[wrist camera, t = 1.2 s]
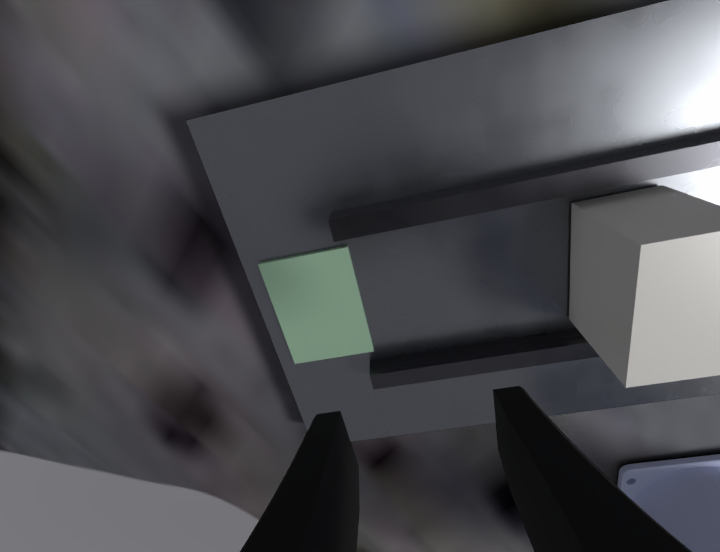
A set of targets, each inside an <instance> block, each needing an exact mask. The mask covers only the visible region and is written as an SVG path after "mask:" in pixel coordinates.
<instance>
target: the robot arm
mask: <svg viewBox="0 0 720 552" xmlns="http://www.w3.org/2000/svg"><path fill="white" fill-rule="evenodd" d="M493 397H494V408H495V419H496V431H497V442H498V450H499V454H500V457H501V460H502V464H503V467H504V471H505V474H506V478H507V481H508V484H509V488H510V491H511V494H512V497H513V499H514V502H515V504H516V507H517V509H518V512H519V514H520V517H521V519H522V522H523V524H524V527H525V529H526V532H527V534H528V537H529V539H530V542H531V544H532V547H533V549H534V552H720V454H716V455H707V456H698V457H689V458H680V459H671V460H662V461H653V462H644V463H635V464H627V465H624V466H622V467H621V468H620V470H619V476H618V485H617V486H616V485H615V484H614V483H613V482H612V481H611V480H610V479H609V478H608V477H607V476H606V475H605V474H603V473H602V472H601V471H600V470H599V469H598V468H597V467H596V466H595V465H594V464H593V463H592V462H591V461H590V460H589V459H588V458H587V457H586V456H585V455H584V454H583V453H582V452H581V451H580V450H579V449H578V448H577V447H576V446H575V445H574V444H573V443H572V442H571V441H570V440H569V439H568V438H567V437H566V436H565V435H564V433H563V432H562V431H561V430H560V429H559V428H558V427H557V426H556V425H555V424H554V423H553V422H552V421H551V419H550V418H549V417H548V416H547V415H546V414H545V413H544V412H543V411H542V409H541V408H540V407H539V406H538V405H537V404H536V402H535V401H534V400H533V399H532V398H531V397H530V395H529V394H528V393H527V392H526V390H525V389H524V388H522V387H521V386H514V387H507V388H500V389H493ZM358 523H359V467H358V463H357V460H356V457H355V454H354V451H353V448H352V445H351V442H350V438H349V435H348V432H347V429H346V426H345V423H344V420H343V417H342V414H341V411H335V412H328V413H321V414H317V415H316V416H315V417H314V419H313V421H312V423H311V425H310V427H309V429H308V431H307V433H306V435H305V437H304V439H303V441H302V443H301V445H300V447H299V449H298V451H297V453H296V455H295V457H294V459H293V461H292V463H291V465H290V467H289V469H288V471H287V472H286V474H285V476H284V478H283V480H282V482H281V483H280V485H279V487H278V489H277V491H276V493H275V494H274V496H273V498H272V500H271V502H270V503H269V505H268V507H267V508H266V510H265V512H264V513H263V515H262V517H261V518H260V520H259V522H258V523H257V525H256V527H255V528H254V530H253V532H252V533H251V535H250V536H249V538H248V540H247V541H246V543H245V545H244V546H243V548H242V549H241V551H240V552H356V549H357V536H358Z"/></svg>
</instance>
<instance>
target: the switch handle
mask: <svg viewBox="0 0 720 552" xmlns="http://www.w3.org/2000/svg"><path fill="white" fill-rule="evenodd" d="M569 320H570V321H571V322H572V323H573V324H574V326H575V327H576V328H577V329H578V331H579V332H580V333H581V334H582V335H583V337H584V338H585V339H586V340H587V341H588V343H589V344H590V345H591V346H592V348H593V349H594V350H595V351H596V352H597V354H598V355H599V356H600V357H601V358H602V360H603V361H604V362H605V363H606V365H607V366H608V367H609V368H610V369H611V371H612V372H613V373H614V374H615V375H616V377H617V378H618V379H619V380H620V381H621V383H622V384H623V385H624V386H625V388H628V387H636V386H643V385H651V384H658V383H665V382H673V381H680V380H688V379H695V378H702V377H710V376H717V375H720V206H719V205H716V204H714V203H711V202H708V201H705V200H702V199H700V198H697V197H694V196H691V195H688V194H686V193H683V192H680V191H677V190H674V189H672V188H669V187H666V186H663V185H660V186H655V187H650V188H645V189H640V190H634V191H629V192H624V193H619V194H614V195H609V196H604V197H598V198H593V199H588V200H583V201H578V202H573V203H572V206H571V252H570V299H569Z"/></svg>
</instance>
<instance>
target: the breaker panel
mask: <svg viewBox="0 0 720 552" xmlns="http://www.w3.org/2000/svg"><path fill="white" fill-rule="evenodd" d="M186 122H187V125H188V127H189V130H190V133H191V135H192V138H193V140H194V143H195V145H196V148H197V150H198V153H199V156H200V158H201V161H202V163H203V166H204V168H205V171H206V173H207V176H208V179H209V181H210V184H211V186H212V189H213V191H214V194H215V196H216V199H217V202H218V204H219V207H220V209H221V212H222V214H223V217H224V219H225V222H226V225H227V227H228V230H229V232H230V235H231V237H232V240H233V242H234V245H235V248H236V250H237V253H238V255H239V258H240V260H241V263H242V265H243V268H244V271H245V273H246V276H247V278H248V281H249V283H250V286H251V288H252V291H253V294H254V296H255V299H256V301H257V304H258V306H259V309H260V311H261V314H262V317H263V319H264V322H265V324H266V327H267V329H268V332H269V334H270V337H271V340H272V342H273V345H274V347H275V350H276V352H277V355H278V357H279V360H280V363H281V365H282V368H283V370H284V373H285V375H286V378H287V380H288V383H289V386H290V388H291V391H292V393H293V396H294V398H295V401H296V403H297V406H298V409H299V411H300V414H301V416H302V419H303V421H304V424H305V426H306V429H307V431H308V429H309V427H310V425H311V423H312V421H313V419H314V417H315V416H316V415H317V414H321V413H328V412H335V411H341V414H342V417H343V420H344V423H345V426H346V429H347V432H348V435H349V438H350V442H351V441H359V440H367V439H374V438H382V437H390V436H397V435H405V434H413V433H421V432H428V431H436V430H444V429H452V428H459V427H467V426H475V425H483V424H490V423H496V419H495V408H494V397H493V389H500V388H507V387H514V386H521V387H522V388H524V389H525V390H526V392H527V393H528V394H529V395H530V397H531V398H532V399H533V400H534V401H535V402H536V404H537V405H538V406H539V407H540V408H541V409H542V411H543V412H544V413H545V414H546V415H547V416H552V415H560V414H568V413H575V412H583V411H591V410H599V409H606V408H614V407H622V406H629V405H637V404H645V403H653V402H660V401H668V400H676V399H684V398H691V397H699V396H707V395H715V394H720V375H717V376H710V377H702V378H695V379H688V380H680V381H673V382H665V383H658V384H651V385H643V386H636V387H628V388H625V386H624V385H623V384H622V383H621V381H620V380H619V379H618V378H617V377H616V375H615V374H614V373H613V372H612V371H611V369H610V368H609V367H608V366H607V365H606V363H605V362H604V361H603V360H602V358H601V357H600V356H599V355H598V354H597V352H596V351H595V350H594V349H593V348H592V346H591V345H590V344H589V343H588V341H587V340H586V339H585V338H584V337H583V335H582V334H581V333H580V332H579V331H578V329H577V328H576V327H575V326H574V324H573V323H572V322H571V321H570V320H569V299H570V252H571V206H572V203H573V202H578V201H583V200H588V199H593V198H598V197H604V196H609V195H614V194H619V193H624V192H629V191H634V190H640V189H645V188H650V187H655V186H660V185H663V186H666V187H669V188H672V189H674V190H677V191H680V192H683V193H686V194H688V195H691V196H694V197H697V198H700V199H702V200H705V201H708V202H711V203H714V204H716V205H719V206H720V0H668V1H664V2H660V3H656V4H652V5H648V6H644V7H640V8H636V9H632V10H628V11H624V12H620V13H616V14H612V15H608V16H604V17H600V18H596V19H592V20H588V21H584V22H580V23H576V24H572V25H568V26H564V27H560V28H556V29H552V30H548V31H544V32H540V33H536V34H532V35H528V36H524V37H520V38H516V39H512V40H508V41H504V42H500V43H496V44H492V45H488V46H484V47H480V48H476V49H472V50H468V51H464V52H460V53H456V54H452V55H448V56H443V57H439V58H435V59H431V60H427V61H423V62H419V63H415V64H411V65H407V66H403V67H399V68H395V69H391V70H387V71H383V72H379V73H375V74H371V75H367V76H363V77H359V78H355V79H351V80H347V81H343V82H339V83H335V84H331V85H327V86H323V87H319V88H315V89H311V90H307V91H303V92H299V93H295V94H291V95H287V96H283V97H279V98H275V99H271V100H267V101H263V102H259V103H255V104H251V105H247V106H243V107H239V108H235V109H231V110H227V111H223V112H219V113H215V114H211V115H207V116H203V117H199V118H195V119H191V120H187V121H186Z"/></svg>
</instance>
